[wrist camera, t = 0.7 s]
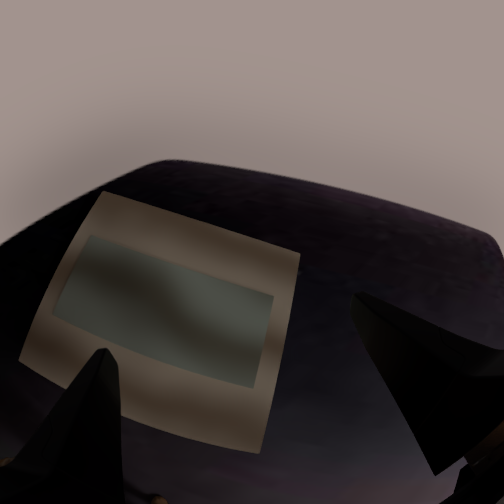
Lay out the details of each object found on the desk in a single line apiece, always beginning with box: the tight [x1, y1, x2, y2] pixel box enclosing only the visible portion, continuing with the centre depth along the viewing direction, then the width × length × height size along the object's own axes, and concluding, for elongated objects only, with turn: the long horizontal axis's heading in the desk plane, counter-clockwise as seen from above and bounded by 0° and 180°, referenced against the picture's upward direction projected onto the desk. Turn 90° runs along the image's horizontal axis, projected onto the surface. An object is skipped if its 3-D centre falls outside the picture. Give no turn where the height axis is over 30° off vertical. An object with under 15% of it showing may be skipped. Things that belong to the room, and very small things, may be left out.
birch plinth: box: [19, 191, 300, 454], centre depth 20 cm, size 16×18×3 cm
